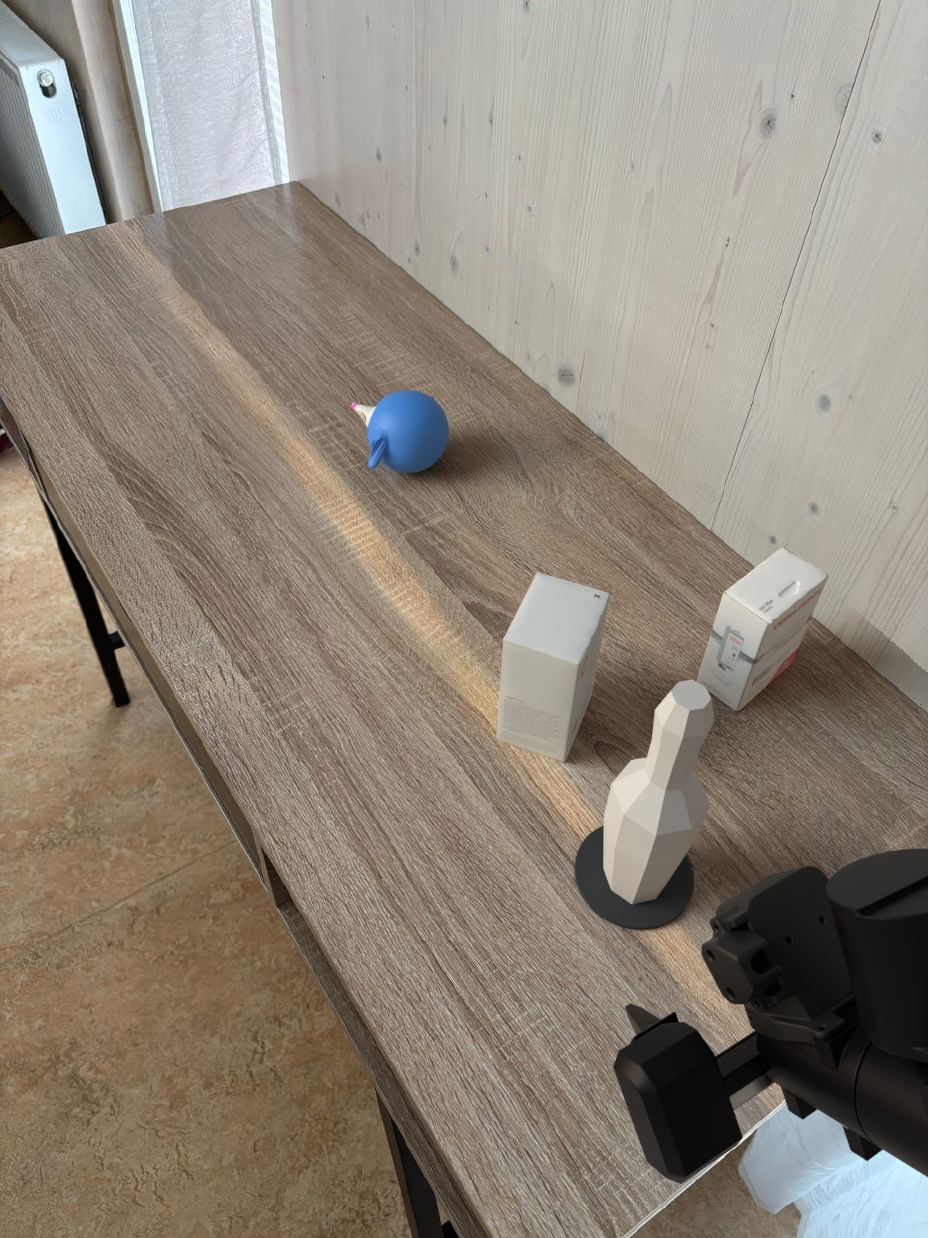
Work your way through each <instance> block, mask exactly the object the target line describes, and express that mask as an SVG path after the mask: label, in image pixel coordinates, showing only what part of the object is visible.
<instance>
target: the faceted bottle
mask: <svg viewBox="0 0 928 1238" xmlns="http://www.w3.org/2000/svg"><path fill="white" fill-rule="evenodd" d="M714 724H715V715H714V707H713V700H712V697H711V695H710V692H709V691H708V690H707V689H706V687H705V686H703V685H701V684H699V683H698V682H697V680H694V679H688V680H681V681H678V682H677V683H676V684H675V685H674V686H673V687H672V689H671V690H670V691H669V692H668V693H667V695H666V696H665V697H664V698H663V699H662V701H661V702H660V703H659V704H658V705H657V706H656V708H655V709H654V716H653V724H652V725H653V726H652V735H651V740H650V741H651V742H650V744H649V748H648V752H647V756H646V757H640V758H635V759H631V760H630V761H629V762H628V763H627V765H625V766H624V768H623V769H622V770H621V772H620V773H619V774H618V775H617V777H616V778H615V779H614V780H613V781H612V782H611V783H610V788H609V792H608V797H607V801H606V805H605V809H604V812H603V813H604V814H603V825H604V856H603V869H604V871H605V874H606V877H607V880H608V883H609V885H610V888H611V890H612V891H613V892H615V893H616V894H618V895H619V896H621V897H622V898H623V899H625V900H626V901H628V902H629V903H631V904H636V903H641V902H646V901H650V900H655V899H656V898H657V896H658V895H659V894H660V892H661V891H662V889H663V888H664V887H665V885H666V884H667V883H668V881H669V880H670V878H671V877H672V875H673V873H674V872H675V870H676V869H677V867H678V866H679V864H680V863H681V861H682V860H683V858H684V857H685V855H687V854H688V852H689V850H690V849H691V848H692V846H693V845H694V843H695V841H696V840H697V838H698V837H699V835H700V832H701V830H702V827H703V824H704V822H705V818H706V816H707V814H708V811H709V808H710V805H711V801H710V800H709V797H708V796H707V793H706V791H705V789H704V787H703V784H702V782H701V780H700V778H699V776H698V774H697V772H696V771H695V770H694V767H695V764H696V762H697V759H698V756H699V753H700V751H701V748H702V746H703V743H704V742H705V740H706V738H707V736H708V734H709V733H710V731H711V729H712V727H713V725H714Z"/></svg>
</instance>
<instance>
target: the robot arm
mask: <svg viewBox="0 0 928 1238" xmlns="http://www.w3.org/2000/svg"><path fill="white" fill-rule="evenodd" d="M709 925H710V928H711V930H712V937H711V938H710V939H709V940H707V941H705V942H704V943H701V958H702V959H703V961H704V963H705V965H706V967H707V969H708V971H709V973H710V975H711V976H712V978H713V980H714V982H715V984H716V987H717V988H718V991H719V992H720V994H721V995H722V997H723V998H724V999H725V1000H726V1001H727V1002H728V1003H730V1004H732V1005H743V1007H744V1010H745V1013H746V1016H747V1019H748V1022H749V1025H750V1027H751V1028H752V1029H753V1030H754V1031H752V1032H750V1033H749V1034H748V1035H745V1036H744V1037H743V1038H741V1039H739V1040H738V1041H736V1042H734V1043H733V1044H732V1045H730V1046H729V1047H727V1048H726V1049H724V1050H723V1051H721V1052H720V1053H718V1054H715V1053H714V1052H713V1050H712V1049H711V1047H710V1045H709V1044H708V1043H707V1042H706V1040H705V1039H704V1037H703V1036H702V1034H701V1033H700V1031H698V1029H697V1028H695V1027H693V1026H692V1025H691V1024H689V1023H687V1022H685V1021H680V1020H679V1018H678V1014H677V1012H676V1011H673V1012H671V1013H670V1014H667V1015H666V1016H665V1017H663V1018H661V1019H660V1018H659V1017H658V1016H656V1015H654V1013H651V1012H650V1011H649V1010H647V1009H645V1008H644V1007H642V1006H640V1005H636V1004H634V1003H627V1005H625V1006H624V1009H625V1012H626V1015H627V1018H628V1021H629V1023H630V1026H631V1027H632V1030H633V1031H634V1033H635V1035H634V1036H633V1037H632V1039H631V1040H630V1042H629V1044H627V1045H625V1046H624V1047H622V1048H620V1049H619V1050H618V1051H617V1055H616V1058H615V1060H614V1063H613V1065H612V1068H613V1071H614V1074H615V1077H616V1079H617V1082H618V1086H619V1088H620V1091H621V1094H622V1096H623V1099H624V1102H625V1105H626V1109H627V1110H628V1113H629V1116H630V1119H631V1122H632V1124H633V1128H634V1130H635V1133H636V1136H637V1138H638V1141H639V1144H640V1147H641V1149H642V1150H641V1151H642V1153H643V1156H644V1158H645V1161H646V1162H647V1164H649V1165H650V1166H651V1167H652V1168H653V1169H655V1170H656V1171H657V1172H658V1173H659V1174H660V1175H661V1176H663V1177H664V1179H667V1180H670V1181H672V1182H675V1183H677V1184H680V1185H682V1184H683V1183H685V1182H686V1181H688V1180H689V1179H691V1178H692V1177H694V1176H695V1175H697V1174H698V1173H700V1172H701V1171H702V1170H704V1169H705V1168H707V1167H709V1166H710V1165H711V1164H713V1163H714V1162H716V1161H717V1160H718V1159H720V1158H722V1156H724V1155H725V1154H727V1153H728V1152H730V1151H732V1150H733V1149H734V1148H736V1147H737V1146H738V1145H739V1144H740V1142H741V1141H742V1140H743V1138H744V1136H743V1134H742V1130H741V1128H740V1125H739V1122H738V1118H737V1116H736V1113H735V1110H737V1109H738V1108H740V1107H741V1106H743V1105H744V1104H746V1103H747V1102H748V1101H750V1100H752V1099H753V1098H754V1097H756V1096H758V1095H759V1094H760V1093H762V1092H764V1091H765V1090H766V1089H768V1088H769V1087H771V1086H773V1085H774V1084H776V1085H778V1086H779V1087H780V1089H781V1092H782V1095H783V1098H784V1102H785V1104H786V1107H787V1110H788V1112H790V1113H792V1114H793V1115H795V1116H796V1117H797V1118H798V1119H801V1120H803V1121H804V1120H805V1119H806V1118H808V1117H809V1116H811V1115H812V1114H813V1113H815V1112H816V1111H819V1112H821V1113H823V1114H824V1115H826V1116H827V1117H829V1118H830V1119H832V1120H833V1121H835V1122H837V1123H839V1124H840V1125H841V1127H842V1129H843V1132H844V1135H845V1138H846V1140H847V1145H848V1147H849V1150H850V1152H852V1153H853V1154H855V1155H857V1156H858V1157H859V1158H861V1159H863V1160H864V1161H866V1162H869V1161H870V1160H871V1159H873V1158H874V1157H875V1156H876V1155H878V1154H879V1153H881V1152H882V1151H884V1152H886V1153H887V1154H889V1155H890V1156H892V1157H894V1158H896V1159H897V1160H899V1162H900V1161H901V1162H902V1163H904V1164H905V1165H907V1166H908V1167H910V1168H912V1169H913V1170H915V1171H917V1172H918V1173H919V1174H921V1175H923V1176H924V1177H926V1178H928V848H923V847H920V848H903V849H895V850H888V851H884V852H879V853H874V854H870V855H868V856H864V857H862V858H859V859H856V860H854V861H851V862H849V863H848V864H846V865H844V866H843V867H841V868H840V869H838V870H837V871H835V872H834V873H833V874H832V875H831V876H830V877H828V876H827V874H826V873H825V872H824V871H823V870H821V868H818V867H816V866H812V865H807V866H806V865H805V866H801V867H797V868H792V869H788V870H787V869H786V870H782V871H778V872H773V873H770V874H768V875H766V876H764V877H763V878H762V879H760V880H758V881H757V882H755V883H754V884H752V885H750V886H748V887H747V888H745V889H743V890H742V891H740V892H738V893H735V894H734V895H732V896H730V897H728V898H726V899H725V900H723V901H722V902H721V903H720V904H719V905H718V907H717V908H716V911H715V916H714V917H711V918H710V919H709Z"/></svg>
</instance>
